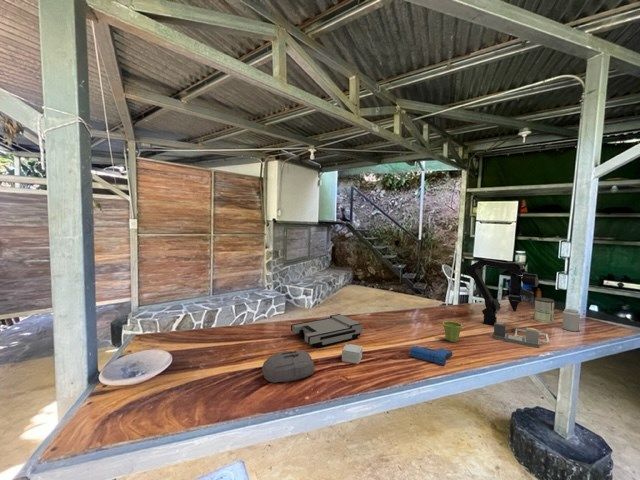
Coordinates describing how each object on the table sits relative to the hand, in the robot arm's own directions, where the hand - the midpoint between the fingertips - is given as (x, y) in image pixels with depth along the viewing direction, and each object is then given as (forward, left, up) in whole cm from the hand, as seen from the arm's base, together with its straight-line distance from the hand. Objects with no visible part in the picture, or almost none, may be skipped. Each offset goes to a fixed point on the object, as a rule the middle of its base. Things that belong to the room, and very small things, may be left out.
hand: (514, 309), depth 164 cm
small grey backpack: (-70, -121, -12) cm, 140 cm away
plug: (+8, -20, -11) cm, 24 cm away
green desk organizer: (+15, +36, -12) cm, 41 cm away
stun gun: (-29, -68, -13) cm, 75 cm away
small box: (-57, -93, -12) cm, 110 cm away
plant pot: (-26, -41, -12) cm, 50 cm away
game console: (-80, -81, -13) cm, 114 cm away
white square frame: (+8, -7, -12) cm, 16 cm away
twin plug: (-6, -20, -11) cm, 23 cm away
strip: (+1, -20, -12) cm, 23 cm away
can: (+27, +22, -12) cm, 37 cm away
